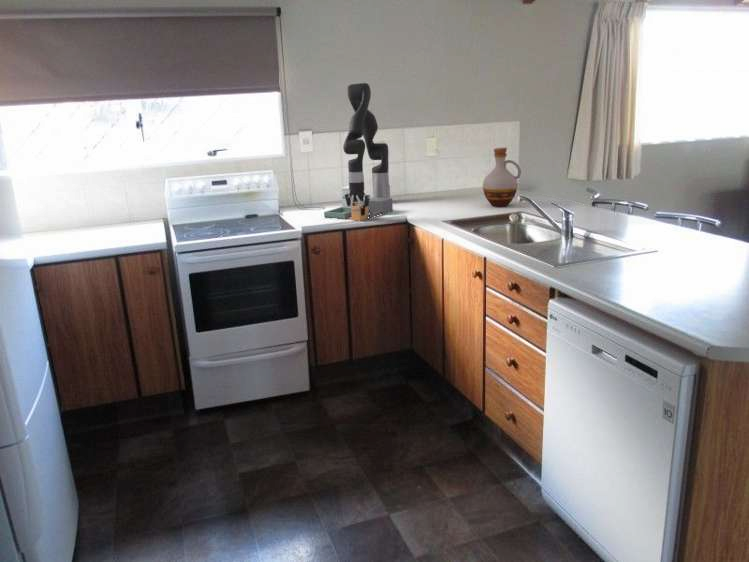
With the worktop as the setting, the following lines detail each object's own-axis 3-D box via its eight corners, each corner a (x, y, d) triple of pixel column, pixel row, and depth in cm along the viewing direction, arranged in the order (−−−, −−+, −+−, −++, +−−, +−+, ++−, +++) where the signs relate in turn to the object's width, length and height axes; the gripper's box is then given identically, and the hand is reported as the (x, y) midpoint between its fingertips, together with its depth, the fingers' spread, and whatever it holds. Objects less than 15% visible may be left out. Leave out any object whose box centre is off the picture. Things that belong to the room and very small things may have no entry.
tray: (341, 212, 338) (341, 206, 338) (361, 214, 331) (361, 208, 330) (324, 217, 327) (323, 212, 326) (344, 219, 320) (344, 213, 319)
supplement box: (342, 211, 342) (340, 187, 339) (348, 208, 349) (347, 185, 345) (353, 211, 339) (352, 188, 335) (360, 209, 345) (359, 185, 342)
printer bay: (377, 210, 339) (376, 197, 337) (392, 211, 334) (392, 198, 332) (355, 217, 324) (354, 203, 322) (371, 218, 318) (370, 204, 316)
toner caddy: (360, 217, 323) (359, 203, 321) (368, 217, 320) (368, 204, 318) (350, 220, 316) (349, 206, 314) (358, 221, 313) (357, 207, 311)
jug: (518, 202, 342) (519, 145, 333) (522, 208, 325) (523, 148, 316) (481, 203, 344) (481, 147, 335) (483, 209, 327) (483, 150, 318)
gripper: (372, 180, 311) (374, 214, 316) (349, 179, 319) (351, 212, 323) (364, 182, 305) (365, 217, 310) (340, 181, 313) (342, 215, 317)
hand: (358, 214), depth 317 cm, fingers closed on toner caddy, 5 cm apart
